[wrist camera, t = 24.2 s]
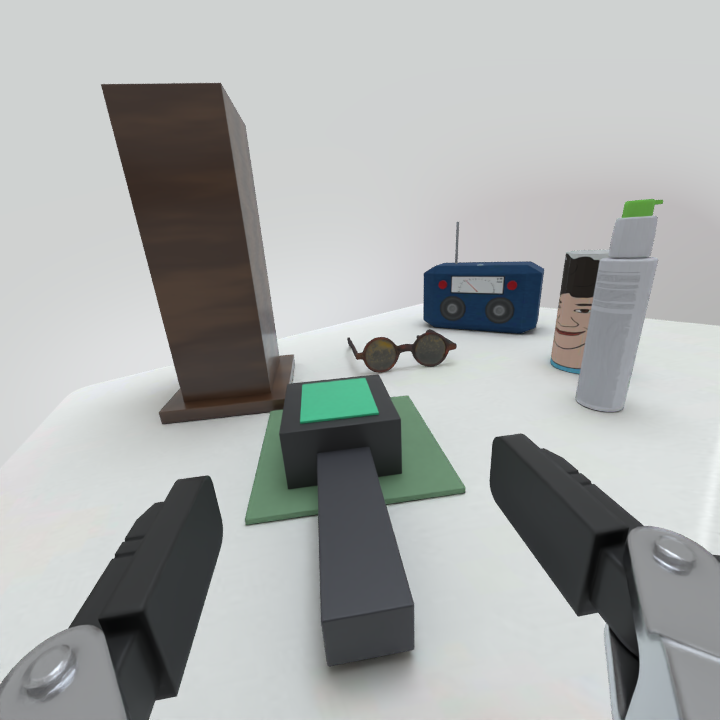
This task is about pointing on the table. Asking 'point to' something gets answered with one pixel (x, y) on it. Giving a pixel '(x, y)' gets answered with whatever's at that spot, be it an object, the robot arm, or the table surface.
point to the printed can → (575, 308)
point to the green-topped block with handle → (351, 511)
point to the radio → (483, 295)
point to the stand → (201, 245)
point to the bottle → (618, 309)
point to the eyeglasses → (385, 353)
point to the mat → (418, 479)
